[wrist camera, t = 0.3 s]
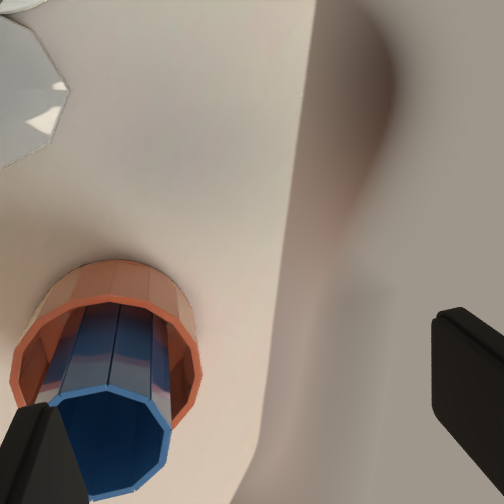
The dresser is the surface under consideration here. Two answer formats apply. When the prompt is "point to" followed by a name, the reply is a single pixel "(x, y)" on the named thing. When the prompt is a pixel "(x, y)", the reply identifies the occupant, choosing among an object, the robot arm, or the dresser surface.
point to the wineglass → (26, 93)
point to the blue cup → (113, 395)
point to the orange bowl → (118, 291)
